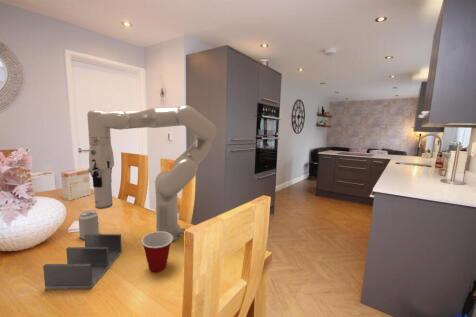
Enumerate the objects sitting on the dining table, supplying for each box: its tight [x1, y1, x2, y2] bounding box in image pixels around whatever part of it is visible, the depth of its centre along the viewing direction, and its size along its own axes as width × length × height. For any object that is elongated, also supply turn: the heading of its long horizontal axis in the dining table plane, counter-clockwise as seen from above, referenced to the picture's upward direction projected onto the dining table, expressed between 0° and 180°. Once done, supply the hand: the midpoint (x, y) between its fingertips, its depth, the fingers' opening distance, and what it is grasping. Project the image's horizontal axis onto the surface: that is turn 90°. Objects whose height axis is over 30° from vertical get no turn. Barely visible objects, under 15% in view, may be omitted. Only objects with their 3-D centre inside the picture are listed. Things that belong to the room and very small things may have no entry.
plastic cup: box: [141, 231, 173, 274], centre depth 81 cm, size 11×11×12 cm
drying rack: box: [42, 233, 123, 290], centre depth 80 cm, size 14×21×8 cm, turn 3°
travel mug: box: [93, 161, 113, 210], centre depth 92 cm, size 6×7×20 cm
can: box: [77, 209, 100, 240], centre depth 103 cm, size 8×8×12 cm
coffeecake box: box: [60, 168, 92, 202], centre depth 158 cm, size 15×7×20 cm, turn 157°
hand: (102, 184), depth 92 cm, fingers closed on travel mug, 6 cm apart
